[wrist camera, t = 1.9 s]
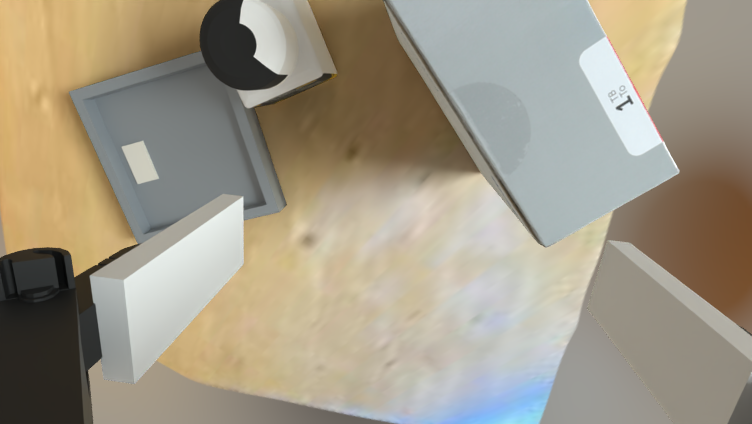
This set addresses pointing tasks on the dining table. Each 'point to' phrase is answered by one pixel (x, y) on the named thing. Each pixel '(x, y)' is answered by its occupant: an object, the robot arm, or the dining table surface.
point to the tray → (177, 144)
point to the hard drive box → (537, 105)
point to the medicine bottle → (265, 49)
